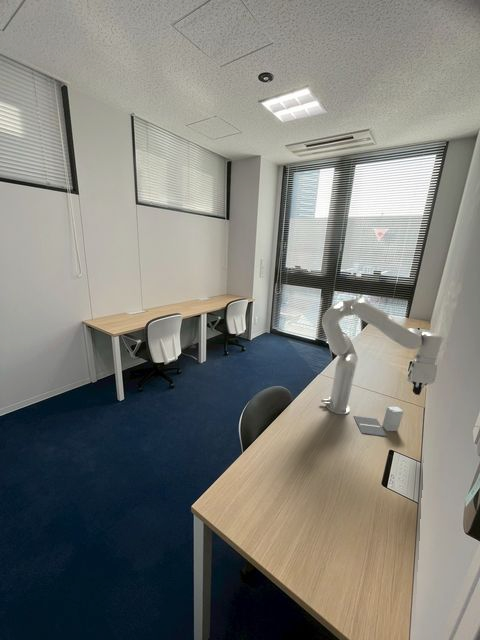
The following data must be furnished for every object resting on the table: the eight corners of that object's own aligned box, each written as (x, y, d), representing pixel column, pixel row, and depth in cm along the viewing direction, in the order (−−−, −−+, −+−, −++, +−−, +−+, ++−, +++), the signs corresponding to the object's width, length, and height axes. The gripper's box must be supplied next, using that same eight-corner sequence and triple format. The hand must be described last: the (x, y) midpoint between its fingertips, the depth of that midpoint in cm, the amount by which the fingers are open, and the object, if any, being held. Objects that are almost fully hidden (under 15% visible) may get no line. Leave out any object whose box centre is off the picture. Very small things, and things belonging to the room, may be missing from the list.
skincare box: (392, 425, 136) (398, 405, 132) (398, 431, 132) (404, 411, 128) (381, 425, 135) (386, 405, 132) (386, 432, 131) (392, 411, 127)
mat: (361, 433, 129) (361, 432, 128) (353, 416, 141) (353, 415, 141) (386, 436, 128) (387, 435, 127) (376, 419, 140) (376, 418, 140)
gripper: (413, 360, 118) (403, 395, 123) (448, 364, 117) (437, 399, 122) (405, 353, 125) (396, 387, 131) (438, 357, 124) (427, 391, 129)
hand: (415, 393), depth 126 cm, fingers closed
